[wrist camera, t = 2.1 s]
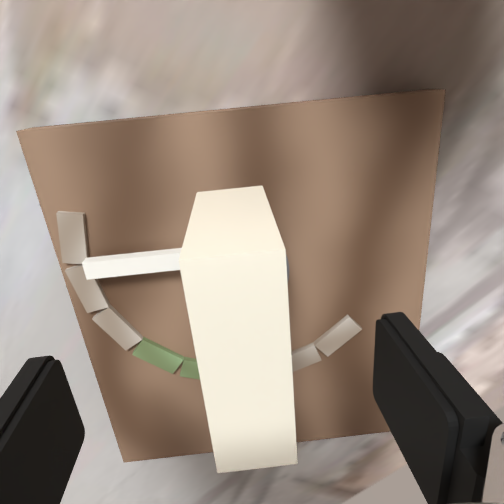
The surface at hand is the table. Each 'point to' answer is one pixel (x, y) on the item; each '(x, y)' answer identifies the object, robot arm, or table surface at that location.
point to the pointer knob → (233, 322)
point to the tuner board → (290, 228)
